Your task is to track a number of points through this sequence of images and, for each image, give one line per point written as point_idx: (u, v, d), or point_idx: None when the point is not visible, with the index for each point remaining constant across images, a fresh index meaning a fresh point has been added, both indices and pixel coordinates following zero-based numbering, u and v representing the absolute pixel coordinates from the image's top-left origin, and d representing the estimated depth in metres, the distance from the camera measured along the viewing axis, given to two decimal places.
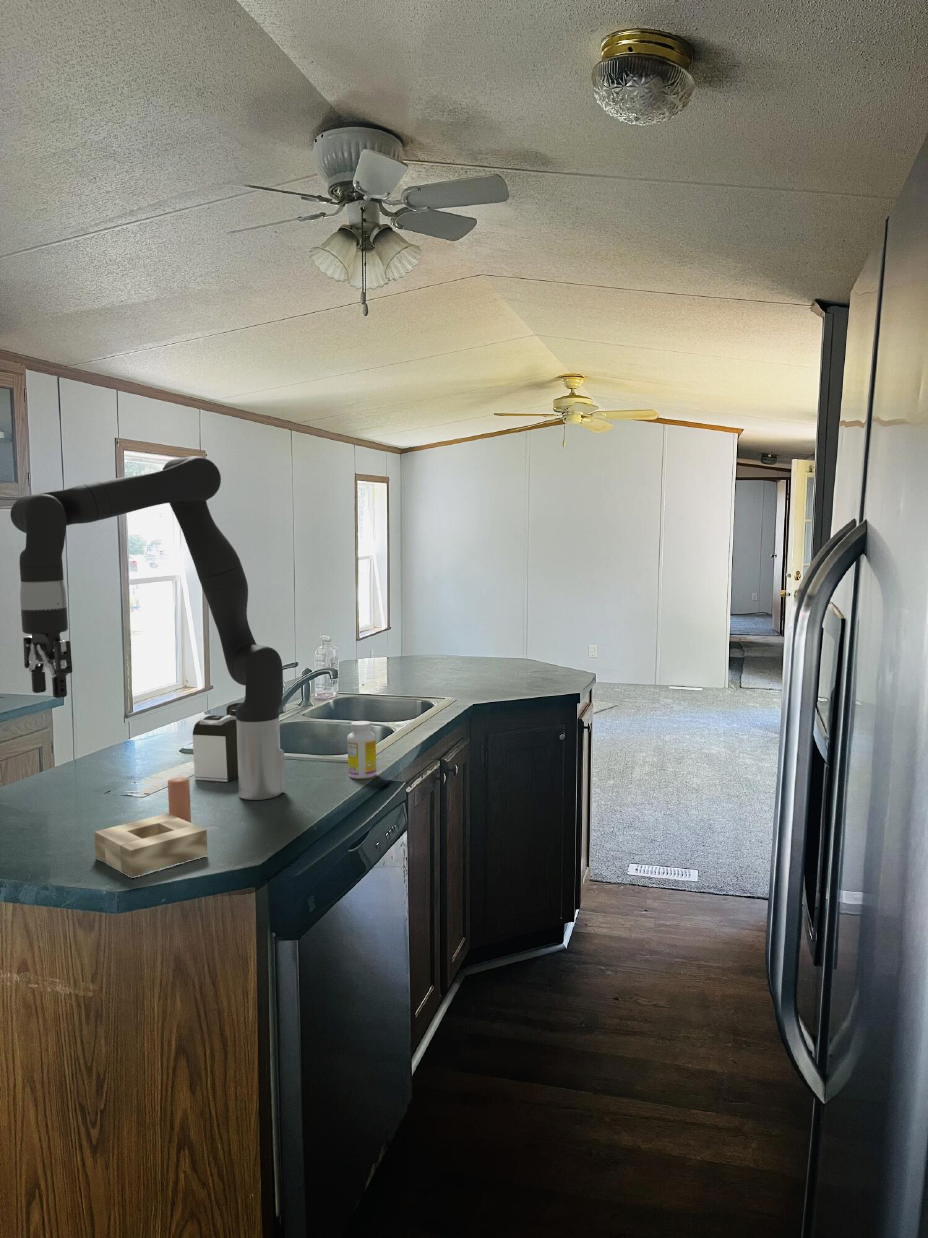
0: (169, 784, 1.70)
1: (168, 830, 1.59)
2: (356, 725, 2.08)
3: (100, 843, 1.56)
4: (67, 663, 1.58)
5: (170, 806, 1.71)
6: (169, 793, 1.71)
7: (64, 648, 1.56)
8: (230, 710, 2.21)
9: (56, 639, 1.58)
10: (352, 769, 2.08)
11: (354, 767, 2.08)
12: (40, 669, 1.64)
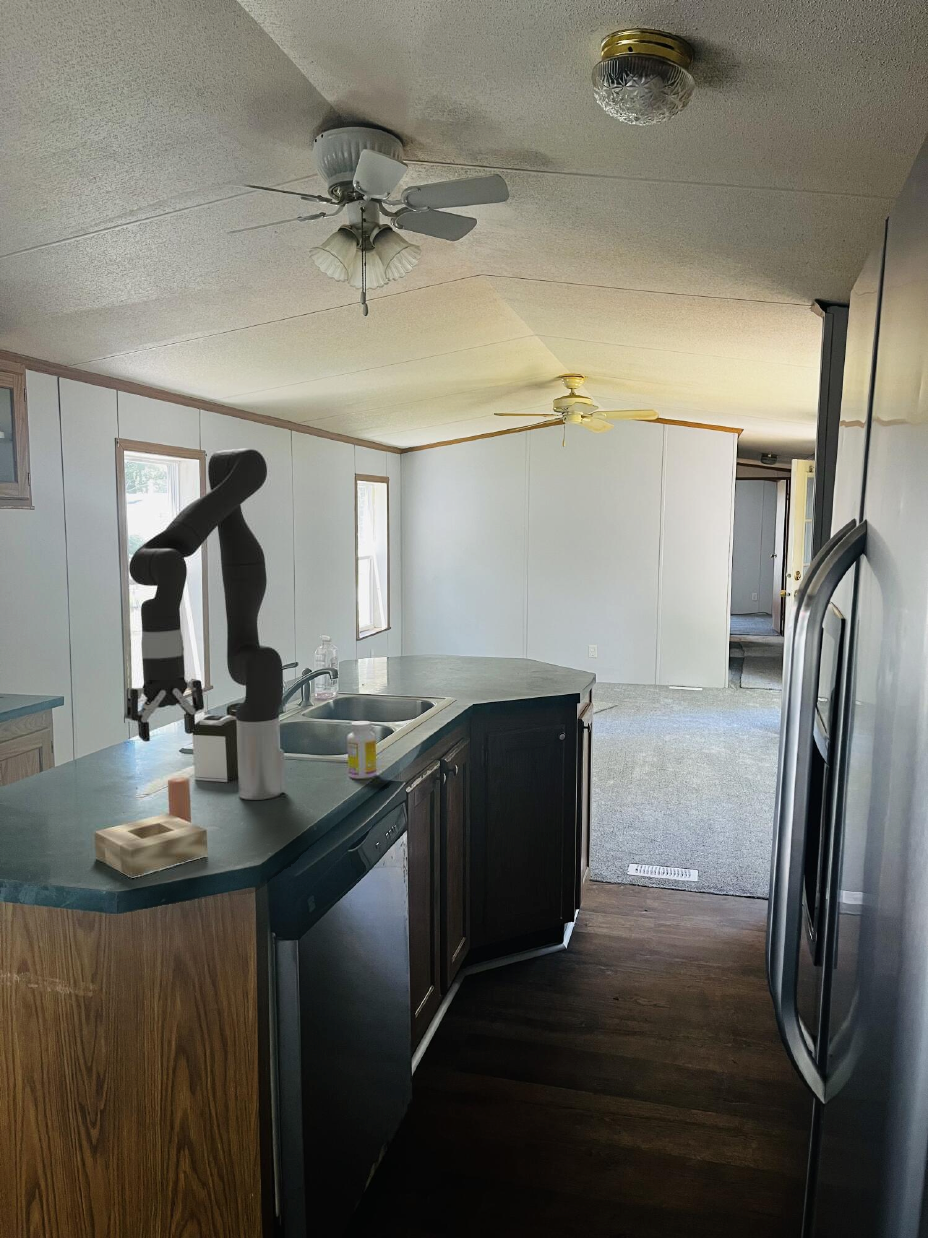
0: (169, 784, 1.71)
1: (168, 830, 1.59)
2: (356, 725, 2.08)
3: (100, 843, 1.56)
4: (195, 699, 1.75)
5: (170, 806, 1.71)
6: (169, 793, 1.71)
7: None
8: (230, 710, 2.21)
9: None
10: (352, 769, 2.08)
11: (354, 767, 2.08)
12: None
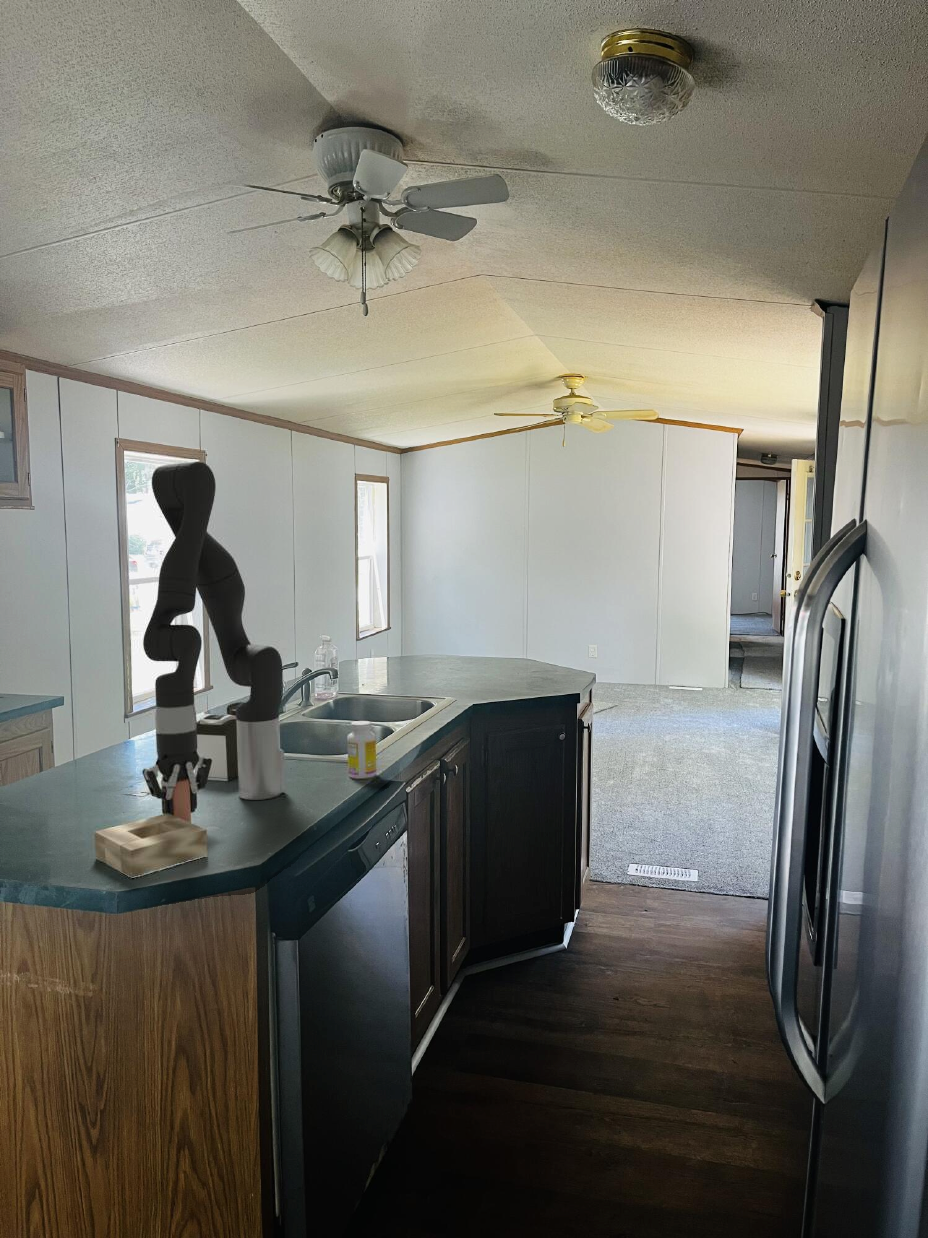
0: None
1: (168, 830, 1.59)
2: (356, 725, 2.08)
3: (100, 843, 1.56)
4: (199, 777, 1.76)
5: None
6: None
7: None
8: (230, 710, 2.22)
9: None
10: (352, 769, 2.08)
11: (354, 767, 2.08)
12: None
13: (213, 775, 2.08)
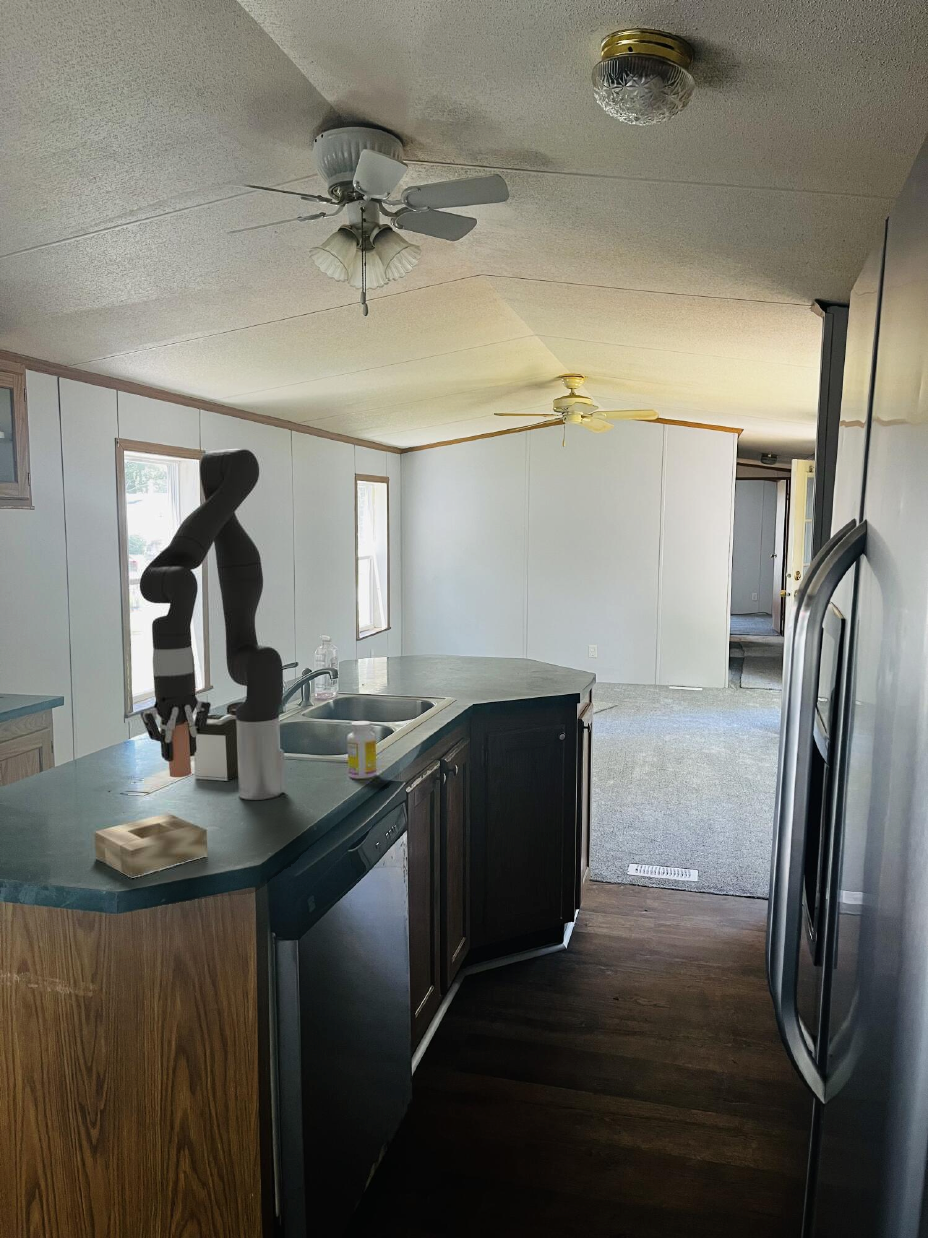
0: None
1: (168, 830, 1.59)
2: (356, 725, 2.08)
3: (100, 843, 1.56)
4: (197, 721, 1.75)
5: None
6: None
7: None
8: (230, 709, 2.22)
9: None
10: (352, 769, 2.08)
11: (354, 767, 2.08)
12: None
13: (213, 775, 2.08)
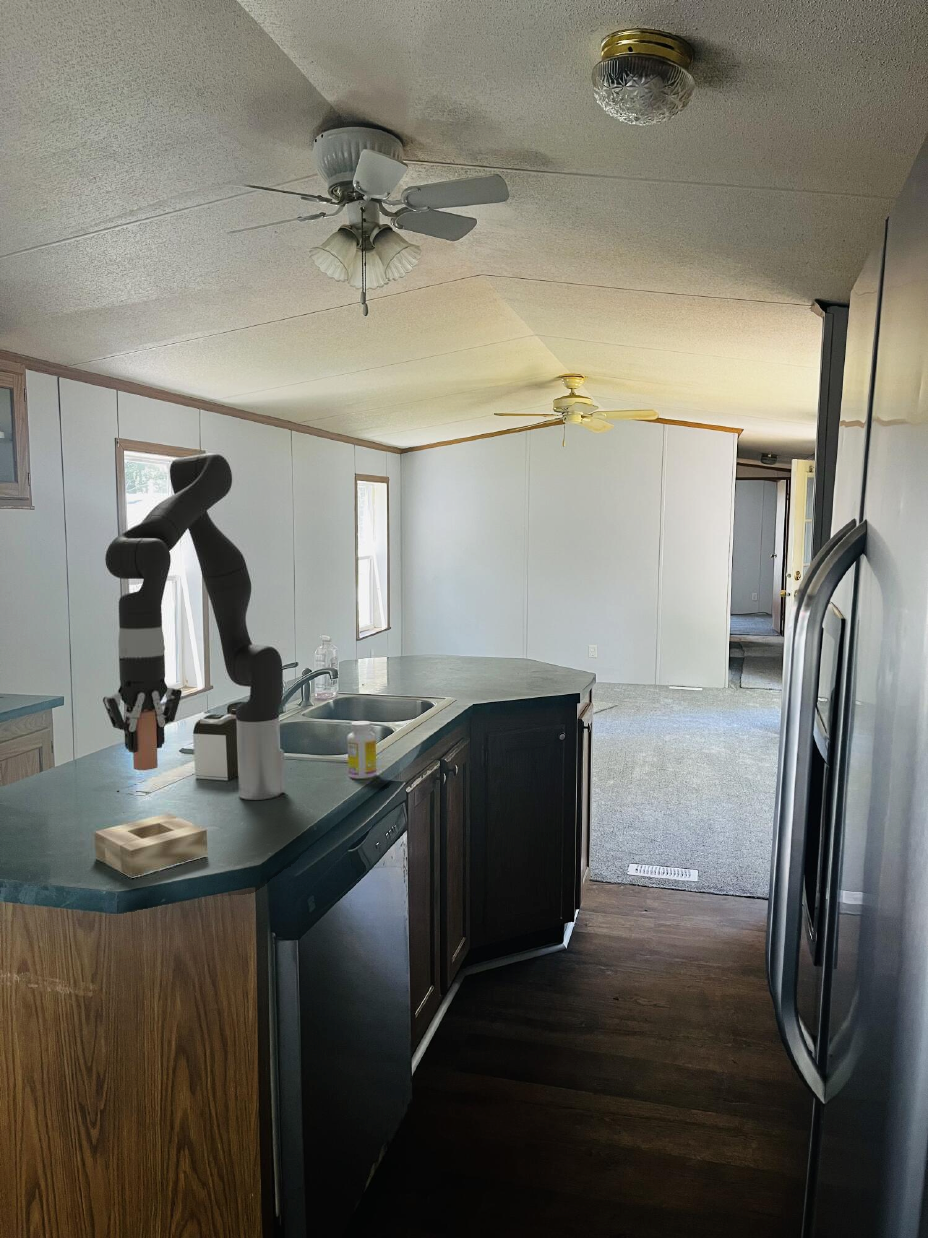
0: None
1: (168, 830, 1.59)
2: (356, 725, 2.08)
3: (100, 843, 1.56)
4: (167, 710, 1.60)
5: None
6: None
7: None
8: (231, 709, 2.22)
9: None
10: (352, 769, 2.08)
11: (354, 767, 2.08)
12: None
13: (213, 774, 2.08)
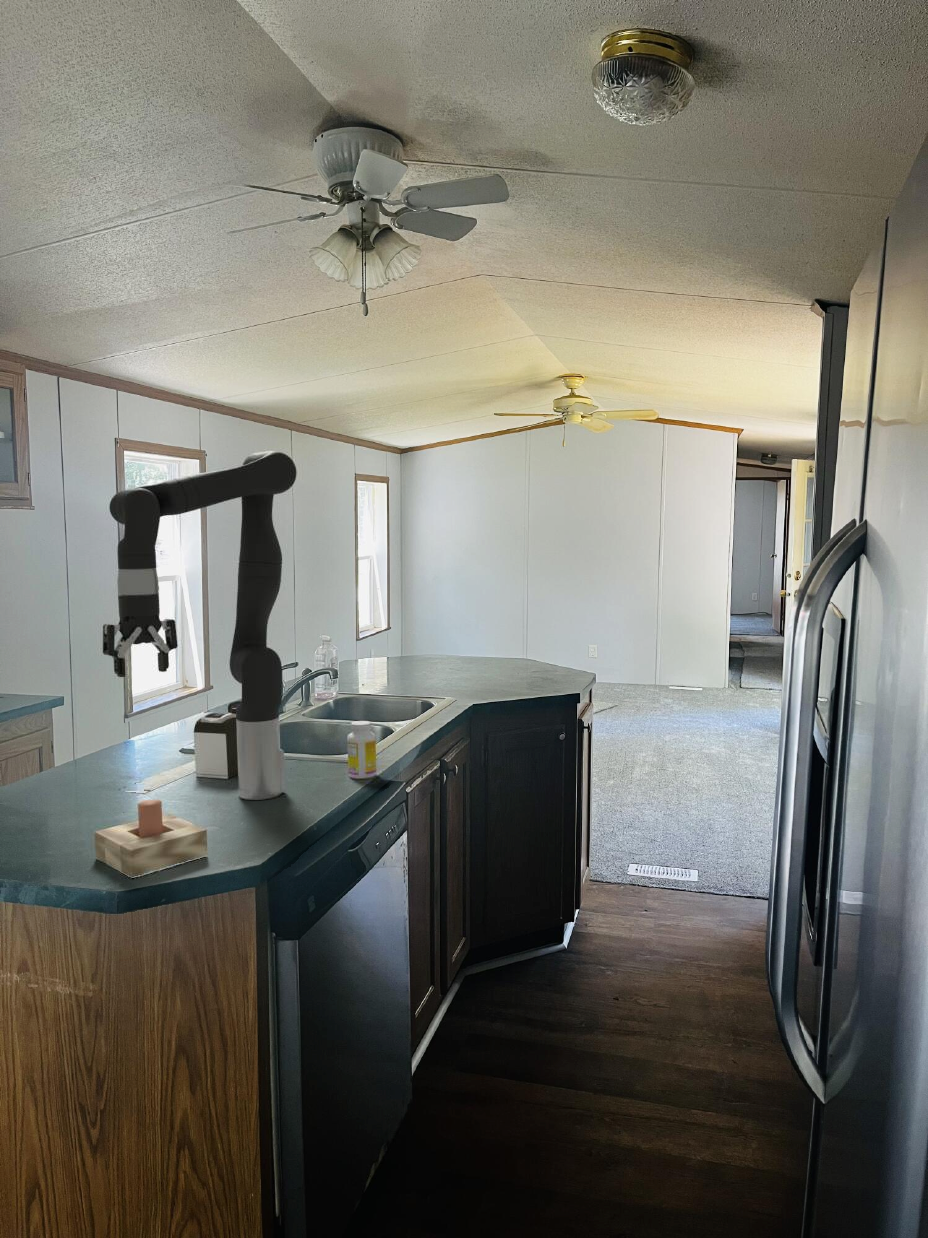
0: (139, 808, 1.56)
1: (168, 830, 1.59)
2: (356, 725, 2.08)
3: (100, 843, 1.56)
4: (168, 639, 1.79)
5: (140, 832, 1.56)
6: (139, 817, 1.56)
7: None
8: (231, 708, 2.24)
9: None
10: (352, 769, 2.08)
11: (354, 767, 2.08)
12: None
13: (214, 773, 2.10)
